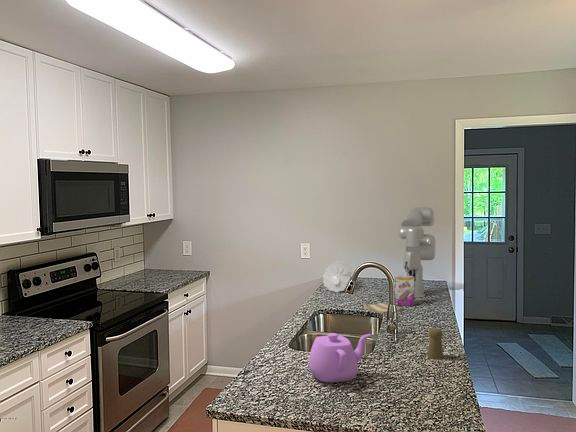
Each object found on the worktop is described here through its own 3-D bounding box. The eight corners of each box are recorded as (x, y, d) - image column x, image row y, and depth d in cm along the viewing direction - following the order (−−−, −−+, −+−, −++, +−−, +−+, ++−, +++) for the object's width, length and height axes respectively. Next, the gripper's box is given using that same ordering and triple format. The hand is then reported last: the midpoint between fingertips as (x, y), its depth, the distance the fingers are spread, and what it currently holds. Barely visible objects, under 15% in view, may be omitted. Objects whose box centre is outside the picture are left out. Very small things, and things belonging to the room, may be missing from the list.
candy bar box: (394, 305, 270) (394, 277, 269) (393, 303, 275) (393, 275, 274) (414, 306, 269) (415, 277, 268) (413, 304, 274) (413, 275, 272)
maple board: (382, 304, 273) (382, 302, 273) (403, 310, 260) (403, 307, 260) (363, 308, 264) (363, 306, 264) (383, 314, 252) (383, 312, 252)
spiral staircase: (329, 299, 304) (333, 289, 328) (354, 288, 300) (356, 279, 324) (316, 273, 304) (321, 265, 328) (341, 262, 300) (344, 254, 324)
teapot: (320, 392, 156) (320, 347, 156) (304, 369, 177) (303, 328, 176) (385, 385, 162) (385, 341, 161) (362, 363, 182) (362, 324, 181)
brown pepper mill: (443, 355, 190) (444, 327, 190) (443, 360, 185) (443, 332, 184) (427, 353, 192) (428, 326, 192) (427, 358, 187) (427, 330, 186)
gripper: (416, 247, 281) (415, 278, 282) (398, 249, 273) (398, 281, 274) (426, 249, 275) (426, 280, 276) (408, 251, 266) (408, 283, 267)
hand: (412, 281), depth 275 cm, fingers closed
